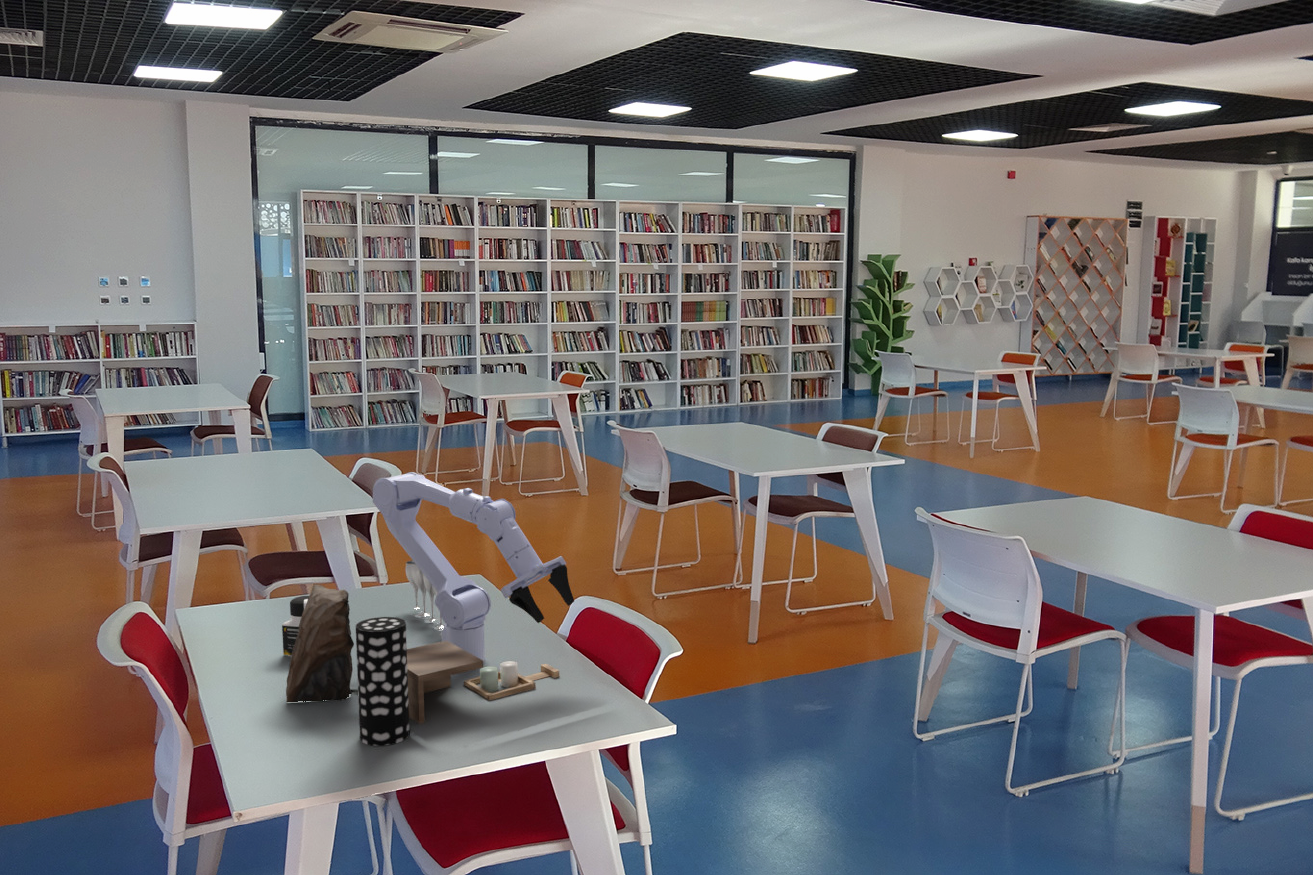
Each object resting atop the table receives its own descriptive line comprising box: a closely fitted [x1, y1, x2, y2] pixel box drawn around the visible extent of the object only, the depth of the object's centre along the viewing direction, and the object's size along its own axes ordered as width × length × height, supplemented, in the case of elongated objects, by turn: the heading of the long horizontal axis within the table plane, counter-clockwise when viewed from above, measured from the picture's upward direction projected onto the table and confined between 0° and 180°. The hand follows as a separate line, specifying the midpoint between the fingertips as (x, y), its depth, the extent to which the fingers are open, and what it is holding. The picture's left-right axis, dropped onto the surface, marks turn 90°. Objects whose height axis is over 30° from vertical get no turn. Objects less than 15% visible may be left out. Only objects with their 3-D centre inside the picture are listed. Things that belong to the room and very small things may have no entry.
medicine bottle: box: [281, 595, 309, 657], centre depth 225 cm, size 7×7×12 cm
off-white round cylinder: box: [499, 660, 519, 688], centre depth 204 cm, size 3×3×4 cm
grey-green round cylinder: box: [479, 666, 499, 693], centre depth 201 cm, size 3×3×4 cm
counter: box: [407, 640, 484, 725], centre depth 194 cm, size 14×13×10 cm
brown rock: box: [285, 583, 355, 702], centre depth 202 cm, size 13×13×20 cm
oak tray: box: [463, 663, 560, 701], centre depth 205 cm, size 10×17×2 cm, turn 128°
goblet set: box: [405, 559, 445, 637], centre depth 247 cm, size 28×6×13 cm, turn 31°
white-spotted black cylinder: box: [355, 616, 410, 747], centre depth 181 cm, size 8×8×20 cm
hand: (556, 612), depth 205 cm, fingers open, 7 cm apart
